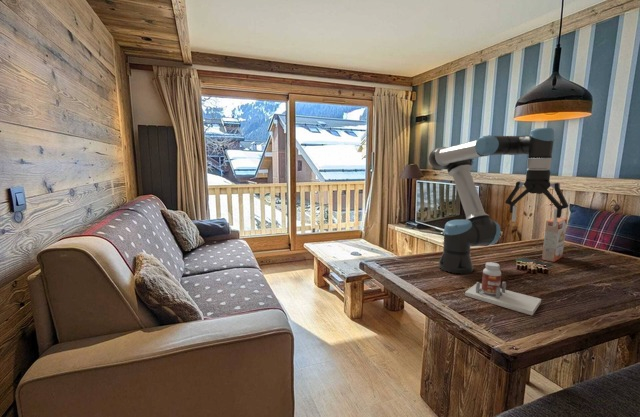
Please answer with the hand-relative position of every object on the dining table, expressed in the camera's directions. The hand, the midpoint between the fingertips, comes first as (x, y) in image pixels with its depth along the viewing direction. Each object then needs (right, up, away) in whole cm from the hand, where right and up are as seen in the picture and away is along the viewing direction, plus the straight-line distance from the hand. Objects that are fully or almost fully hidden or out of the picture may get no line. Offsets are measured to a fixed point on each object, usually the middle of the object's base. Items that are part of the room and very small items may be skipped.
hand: (533, 223), depth 121 cm
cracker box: (+38, -21, +40) cm, 59 cm away
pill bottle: (-19, -26, -3) cm, 33 cm away
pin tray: (-16, -28, -6) cm, 33 cm away
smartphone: (+24, -22, +33) cm, 46 cm away
